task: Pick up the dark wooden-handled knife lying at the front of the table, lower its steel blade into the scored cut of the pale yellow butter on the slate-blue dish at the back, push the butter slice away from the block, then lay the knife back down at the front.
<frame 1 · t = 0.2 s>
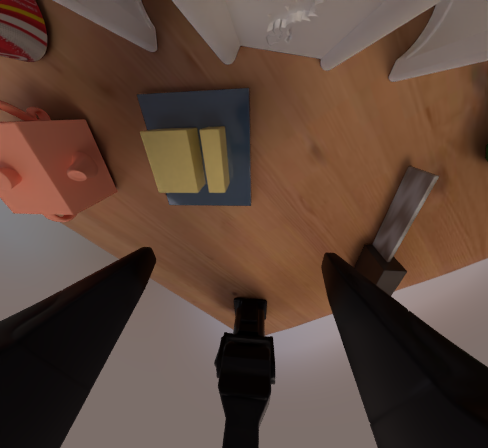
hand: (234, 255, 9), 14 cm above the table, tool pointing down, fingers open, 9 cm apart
butter block: (182, 158, 20), point 1 cm above the table, touching butter dish
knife: (363, 266, 27), on the table
butter dish: (204, 155, 20), on the table
teapot: (82, 158, 22), on the table
beverage can: (20, 18, 16), on the table
butter slice: (219, 157, 19), point 1 cm above the table, touching butter dish
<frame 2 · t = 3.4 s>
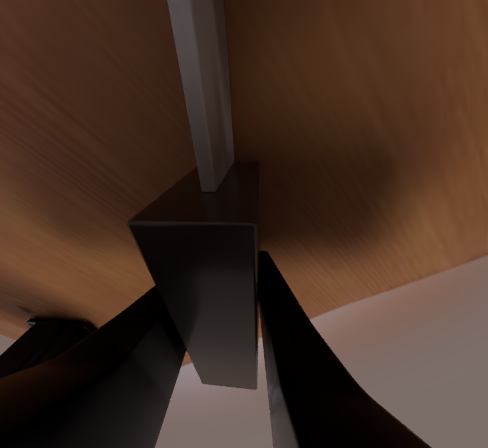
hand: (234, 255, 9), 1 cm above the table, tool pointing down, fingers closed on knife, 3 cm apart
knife: (236, 243, 10), on the table, touching gripper
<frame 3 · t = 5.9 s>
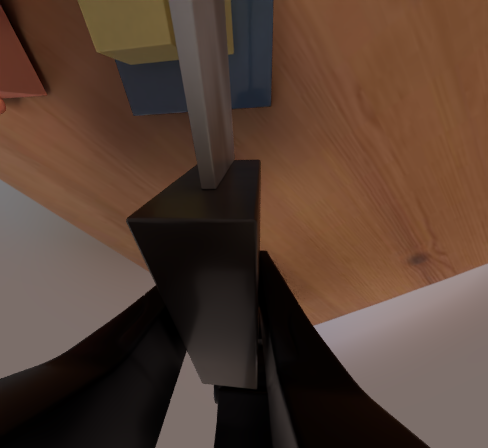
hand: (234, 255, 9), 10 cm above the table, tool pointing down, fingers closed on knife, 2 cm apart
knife: (236, 242, 10), point 9 cm above the table, touching gripper
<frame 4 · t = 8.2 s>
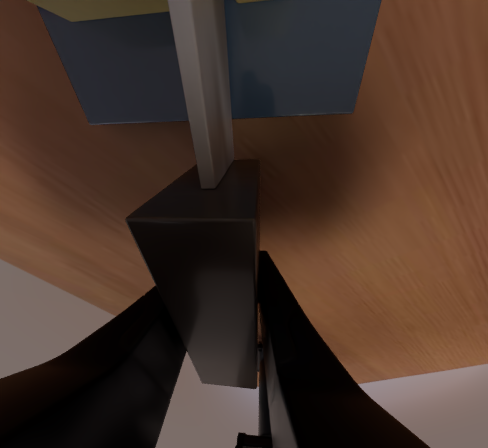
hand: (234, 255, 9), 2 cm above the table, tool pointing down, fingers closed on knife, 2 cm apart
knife: (236, 242, 10), point 1 cm above the table, touching gripper
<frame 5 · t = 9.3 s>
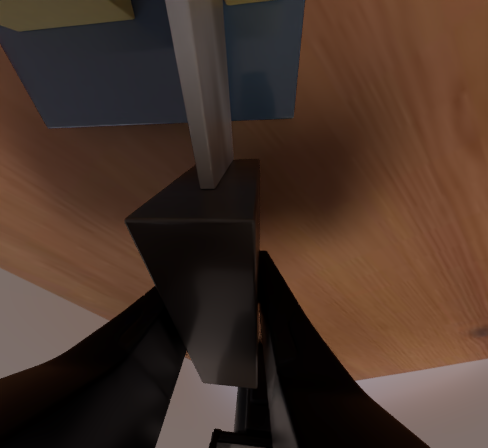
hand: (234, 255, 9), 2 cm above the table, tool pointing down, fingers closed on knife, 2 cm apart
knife: (236, 242, 10), point 1 cm above the table, touching butter slice, gripper
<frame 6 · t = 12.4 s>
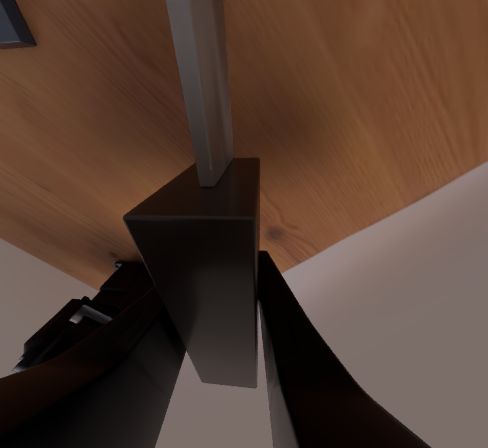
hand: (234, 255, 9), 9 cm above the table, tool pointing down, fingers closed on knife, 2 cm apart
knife: (236, 241, 10), point 8 cm above the table, touching gripper
when the fingers open (1 cm above the table, at t = 14.4 s): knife stays where it is, on the table.
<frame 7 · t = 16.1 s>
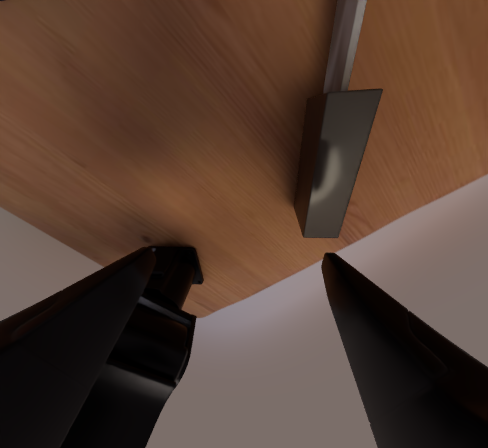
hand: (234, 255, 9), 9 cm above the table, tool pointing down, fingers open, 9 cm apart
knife: (314, 161, 15), on the table
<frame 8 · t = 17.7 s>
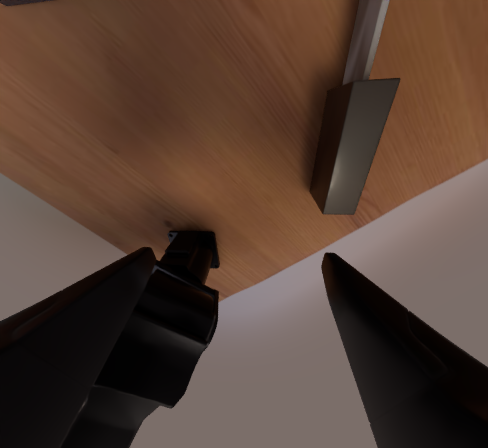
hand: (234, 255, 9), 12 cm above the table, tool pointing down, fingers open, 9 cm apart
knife: (331, 148, 17), on the table
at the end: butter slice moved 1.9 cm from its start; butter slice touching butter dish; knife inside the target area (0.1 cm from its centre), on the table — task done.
